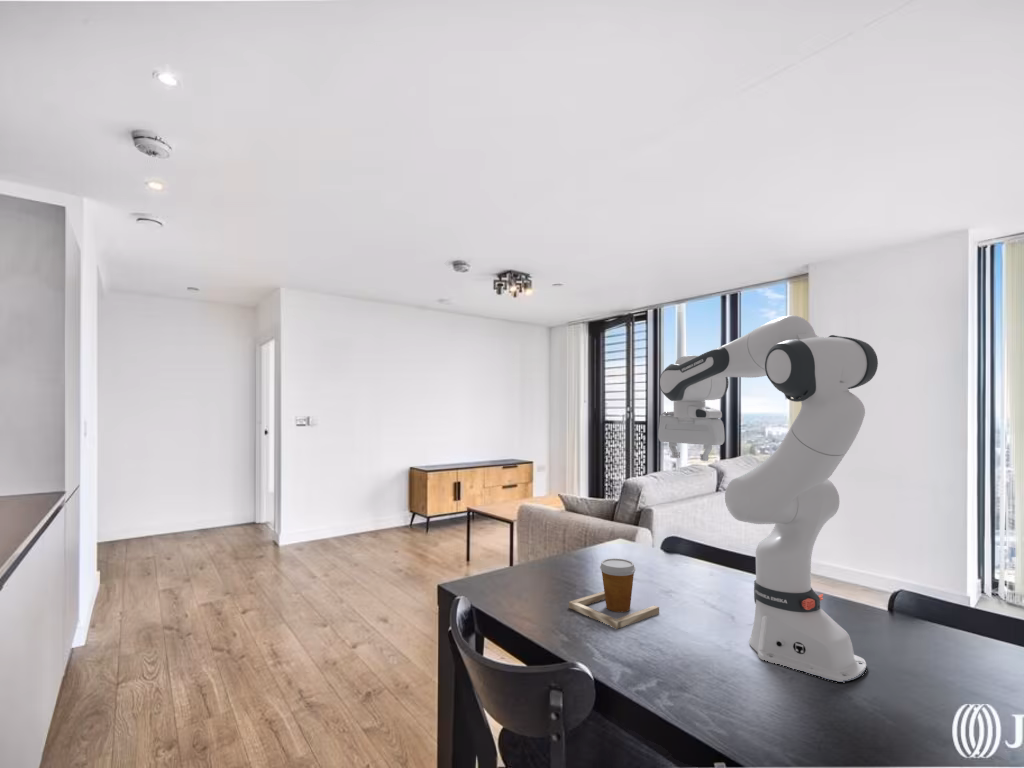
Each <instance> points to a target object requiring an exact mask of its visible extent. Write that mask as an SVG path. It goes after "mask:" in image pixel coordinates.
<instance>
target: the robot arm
mask: <svg viewBox="0 0 1024 768" xmlns="http://www.w3.org/2000/svg"><path fill="white" fill-rule="evenodd" d="M878 362H879V361H878V355H877V353H876V351H875V349H874V348H873V346H871V345H870V344H869V343H867V342H865V341H864V340H860V339H857V338H853V337H847V336H841V335H835V334H831V335H829V336H828V337H827V336H826V337H823V336H819V335H817V333H815V330H814V327H813V326H812V325H811V323H810V322H809V321H808V320H806V319H805V318H803V317H801V316H798V315H791V314H790V315H785V316H780V317H778V318H776V319H772V320H769V321H768V322H766V323H764V324H762V325H759V326H758V327H755V328H754V329H753V330H751V331H749V332H748V333H746V334H744V335H742V336H740V337H739V338H736V339H734V340H732V341H729V342H728V343H725V344H723V345H721V346H719V347H716V348H714V349H711V350H709V351H706V352H703V353H702V354H700V355H694V354H693V355H691V354H690V355H685V356H681V357H679V358H677V359H676V360H675V363H671V364H669V365H668V366H666V367H665V369H664V370H663V371H662V372H661V374H660V377H659V379H658V380H659V382H658V383H659V388H660V391H661V393H662V394H663V395H664V397H666V398H667V399H668V400H669V401H671V402H673V411H664V412H662V413H661V414H660V415H659V424H658V431H657V438H658V440H659V442H661V443H668V448H669V449H670V451H671V453H672V455H671V457H672V458H673V459H680V457H681V452H680V451H678V449H677V447H678V444H689V445H703V449H704V451H703V453H702V454H700V455H699V457H700V458H699V459H700V461H702V462H708V461H709V455H710V453H711V452H712V450H713V446H721V445H723V444H724V443H725V439H726V438H725V427H724V425H725V424H724V421H722V418H723V413H722V411H721V410H719V409H716V408H714V407H710V406H708V405H706V401H715V400H720V399H722V398H724V396H725V395H726V393H727V392H728V389H729V378H762V377H765V376H766V377H767V378H768V380H769V381H770V382H771V384H772V385H773V387H774V388H775V389H777V391H779V392H781V393H782V394H783V395H784V397H785V398H786V399H787V400H789V401H791V402H795V403H799V402H800V403H801V408H800V410H799V412H798V415H797V416H796V418H795V419H794V421H793V422H792V425H791V426H790V428H789V429H788V431H787V433H786V434H785V436H784V438H783V440H782V441H781V442H780V444H779V445H778V447H777V448H776V450H774V452H773V453H772V454H771V455H770V456H768V457H767V458H766V459H764V461H762V462H761V463H760V464H758V466H756V467H755V468H753V469H751V470H750V471H749V472H746V473H745V474H743V475H740V476H739V477H736V478H733V479H732V480H731V481H729V483H728V484H727V487H726V489H725V492H724V493H725V494H724V501H725V502H724V503H725V506H726V508H727V511H728V512H729V514H730V515H731V516H732V517H733V518H734V519H735V520H737V521H738V522H744V523H749V524H754V525H755V524H756V525H774V527H773V529H772V531H771V532H770V534H769V535H768V536H766V537H765V538H764V539H763V540H761V541H760V542H759V543H758V544H757V545H756V549H755V580H754V582H753V584H754V585H753V599H754V604H755V610H754V619H753V626H752V631H751V634H750V637H749V641H748V642H749V645H750V647H751V648H752V649H753V650H754V651H755V652H756V653H757V656H758V658H759V659H760V660H762V661H764V660H765V662H767V661H768V663H771V664H774V663H775V665H777V664H780V665H779V666H781V665H783V666H782V667H784V666H787V667H790V668H794V669H798V670H801V671H805V672H808V673H812V674H815V675H819V676H822V677H825V678H829V679H832V680H836V681H843V680H848V679H851V678H854V677H856V676H858V675H859V674H861V673H862V672H863V671H864V670H865V668H866V666H867V662H866V660H865V659H864V658H863V657H861V656H858V655H856V654H855V652H854V647H853V643H852V639H851V637H850V635H849V633H848V632H847V631H846V630H845V629H844V628H843V627H842V626H841V625H840V624H839V623H838V622H836V621H835V620H834V619H833V618H832V617H831V616H829V614H827V612H825V611H824V609H822V608H821V601H822V600H824V598H823V596H824V594H823V593H821V594H819V595H818V594H817V593H816V591H814V589H813V587H812V585H811V583H812V576H811V575H812V571H811V570H812V554H813V550H814V546H815V543H816V541H817V537H818V536H819V535H820V532H821V530H822V529H823V527H824V525H825V524H826V523H827V522H828V521H830V519H832V518H834V516H836V514H837V512H838V510H839V507H840V494H839V492H838V490H837V487H836V486H835V485H834V483H833V482H832V481H831V480H830V477H832V475H833V474H834V472H835V471H836V469H837V467H838V466H839V464H841V462H842V460H843V459H844V457H845V456H846V454H847V453H848V451H849V450H850V449H851V447H852V446H853V443H854V442H855V439H857V436H858V435H859V434H858V433H859V432H860V430H861V427H862V424H863V422H864V418H865V416H866V415H865V414H866V408H865V406H864V404H863V402H862V400H861V399H860V398H859V397H858V396H857V395H856V394H854V393H853V392H851V391H850V389H851V390H852V389H855V388H859V387H861V386H864V385H865V384H868V383H869V382H871V380H872V379H873V378H874V377H875V376H876V373H877V370H878V366H879V363H878ZM859 663H862V664H859ZM787 667H786V668H787ZM790 668H789V669H790ZM794 669H793V670H794Z"/></svg>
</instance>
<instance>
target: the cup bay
mask: <svg viewBox="0 0 1024 768" xmlns="http://www.w3.org/2000/svg"><path fill="white" fill-rule="evenodd" d="M603 599H604V600H605V593H604V591H600V592H596V593H593V594H591V595H587V596H582V597H580V598H578V599H577V598H576V599H573V600H570V601H568V609H571V610H573V611H575V612H578V613H580V614H582V615H584V616H587V617H588V616H589V617H588V618H591V619H593V620H595V621H597V620H598V621H597V622H599V621H600V623H602V622H603V623H602V624H604V623H605V624H604V625H606V624H608V625H610V626H609V627H611V626H612V627H611V628H613V627H614V628H613V629H615V628H616V629H615V630H618V628H619V629H621V628H623V627H626V625H627V626H629V625H632V624H634V623H637V622H640V621H642V620H645V618H646V619H649V618H650V617H653V616H656V615H659V614H660V607H659V606H657V605H652V606H649V607H647V608H644V609H641V610H637V611H635V612H632V613H630V614H627V615H624V616H621V617H618V618H615V617H613V616H611V615H608V614H606V613H603V612H601V611H598V610H595V609H593V608H591V607H589V605H591V603H592V604H594V602H595V603H598V602H601V601H604V600H603ZM600 600H601V601H600ZM597 601H598V602H597ZM608 625H607V626H608Z"/></svg>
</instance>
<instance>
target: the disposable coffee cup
mask: <svg viewBox="0 0 1024 768" xmlns="http://www.w3.org/2000/svg"><path fill="white" fill-rule="evenodd" d="M599 569H600V571H601V575H602V576H601V578H602V584H603V585H602V586H603V590H604V593H605V599H604V600H605V607H607V608H606V609H607V610H608V609H609V610H608V611H610V610H611V611H610V612H615V613H626V612H629V611H630V610H631V603H632V592H633V586H634V585H633V583H634V575H635V572H636V569H637V568H636V567H635V563H634V562H633V561H631V560H628V559H624V558H607V559H603V560H602V561H601V564H600V565H599Z"/></svg>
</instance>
